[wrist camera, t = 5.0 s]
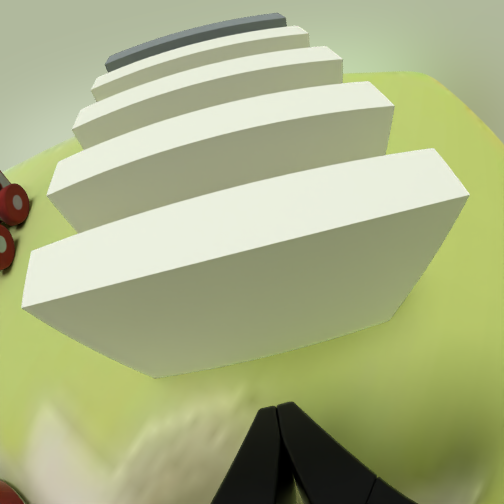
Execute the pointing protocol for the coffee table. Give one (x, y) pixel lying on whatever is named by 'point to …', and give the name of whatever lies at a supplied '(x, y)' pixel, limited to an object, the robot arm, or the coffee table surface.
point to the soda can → (9, 495)
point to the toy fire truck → (10, 216)
